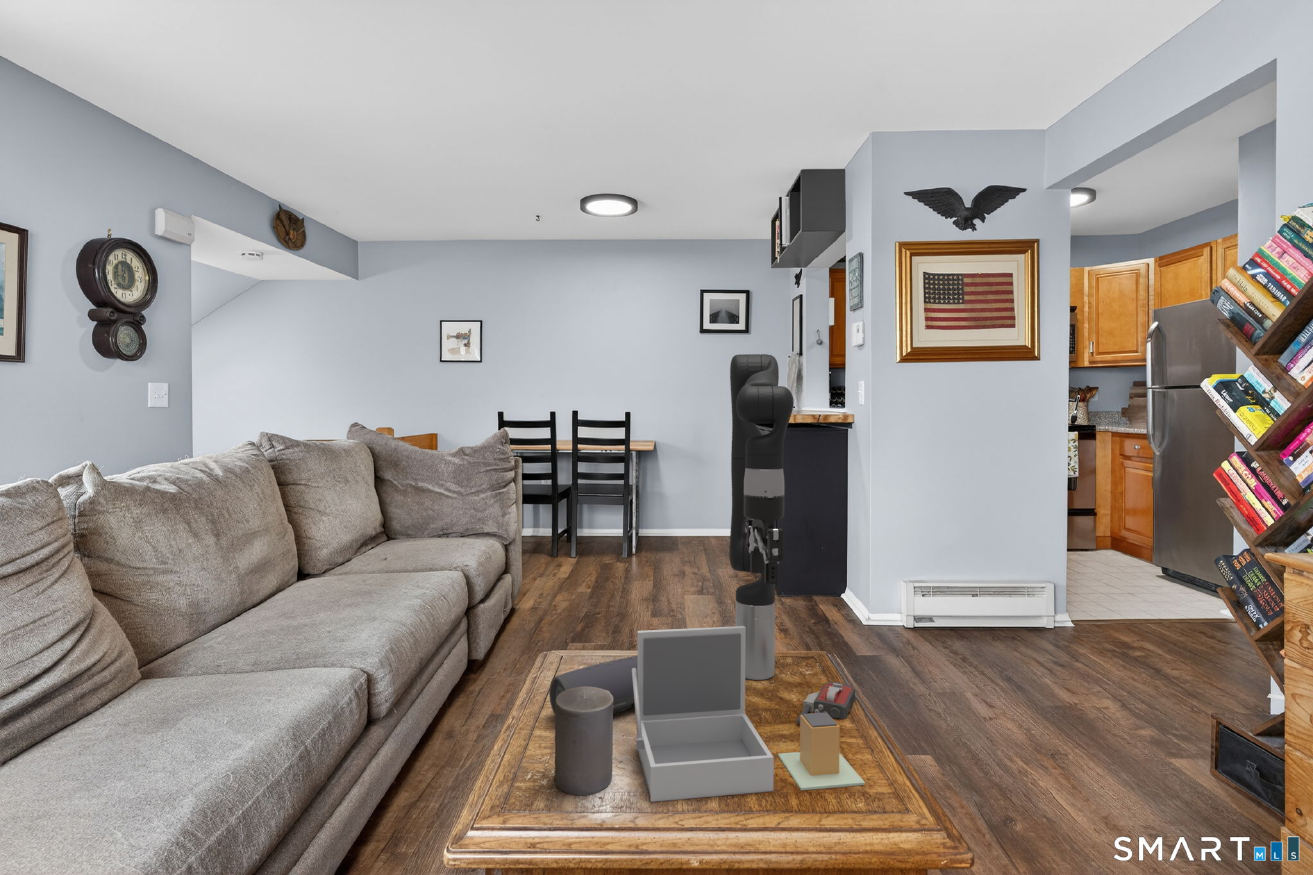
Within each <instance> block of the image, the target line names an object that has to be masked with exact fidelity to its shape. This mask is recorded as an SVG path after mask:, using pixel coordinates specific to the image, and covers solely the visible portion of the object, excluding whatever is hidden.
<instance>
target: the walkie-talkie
mask: <svg viewBox="0 0 1313 875" xmlns="http://www.w3.org/2000/svg"><path fill="white" fill-rule="evenodd" d="M855 701H856V688H855V687H854V686H853V685H851V684H848V683H847V684H846V683H840V682H835V681H828V682H826V683H824V685H823V686H822V688H821V689H820V691H818V692H813V693H809V694H808V695H807V696H806V698H805V699H803V701H802V703H803V704H802V709H803V710H802V711H801V712H800V714H799V716H798V717H797V718H796V723H797V724H798V725H800V715H803V714H809V712H811V713H825V712H827V713H828V714H829V715H830V717H831V718H832V719H841V720H846V719H847V716H848V715H849V713H850V711H851V709H852V707H853V705H852V704H854V703H853V702H855ZM851 706H852V707H851ZM850 708H851V709H850Z"/></svg>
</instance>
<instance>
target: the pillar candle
mask: <svg viewBox="0 0 1313 875" xmlns="http://www.w3.org/2000/svg"><path fill="white" fill-rule="evenodd" d="M613 699H614V698H613V696H612V694H611V693H610V692H609V691H607V690H604V689H600V688H596V687H585V686H584V687H576V688H571V689H568V690H565V691H563V692H562V693H560V694H559V695H558V696H557V698H556V703H555V707H556V709H555V714H554V716H555V719H554V720H555V726H554V731H555V732H554V744H555V745H554V746H555V747H554V750H555V751H554V784H555V787H557V789H558V790H560V791H561V792H563V793H566V794H568V795H573V796H587V795H588V796H589V795H593V794H597V793H599V792H601V791H604V790H605V789H606V788H608V787H609V786H610V784H611V782H612V778H613V753H614V752H613V751H614V748H613V746H614V745H613V744H614V741H613V740H614V738H613V737H614V736H613V734H614V733H613V732H614V730H613V729H614V725H613V724H614V714H613Z"/></svg>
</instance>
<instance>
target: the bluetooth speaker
mask: <svg viewBox="0 0 1313 875" xmlns="http://www.w3.org/2000/svg"><path fill="white" fill-rule="evenodd" d="M633 668H636V673H637V655H633V656H628V657H623V658H618V659H613V660H610V661H604V662H600V663H595V664H593V665H588V666H584V667H581V668H577V669H574V670H570V671H567V672H563V673H561V674H559V675H556V676H553V678H552V679H551V682H550V686H549V691H548V694H549V695H548V697H549V702H550V707H551V709H552V713H553V714H554V715H555V709H556V707H555V703H556V698H557V696H558V695H559V694H560V693H562V692H563V691H565V690H568V689H571V688H576V687H584V686H585V687H596V688H600V689H604V690H607V691H609V692H610V693H611V694H612V696H613V698H614V699H613V715H614V714H617V713H620V712H624V711H626V710H629V709H630V708H632V705H633V704H635V703H634V691H633V679H632V669H633Z"/></svg>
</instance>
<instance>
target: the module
mask: <svg viewBox="0 0 1313 875" xmlns="http://www.w3.org/2000/svg"><path fill="white" fill-rule="evenodd" d="M799 715H800V714H799ZM840 727H841V726H840V724H838V723H837V722H836V721H835V719H834V718H833V717H830V715H829V714H828V713H827V712H825V713H814V712H811V713H807V714H803V715H800V724H799V752H800V761H801V763H802V764H803V765H804V767H805V768H806V770H807V771H808V772H809V774H810V775H811V776H814V775H826V774H838V773H839V753H840V744H841V743H840V738H841V736H840V732H841V730H840V729H841V728H840Z"/></svg>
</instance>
